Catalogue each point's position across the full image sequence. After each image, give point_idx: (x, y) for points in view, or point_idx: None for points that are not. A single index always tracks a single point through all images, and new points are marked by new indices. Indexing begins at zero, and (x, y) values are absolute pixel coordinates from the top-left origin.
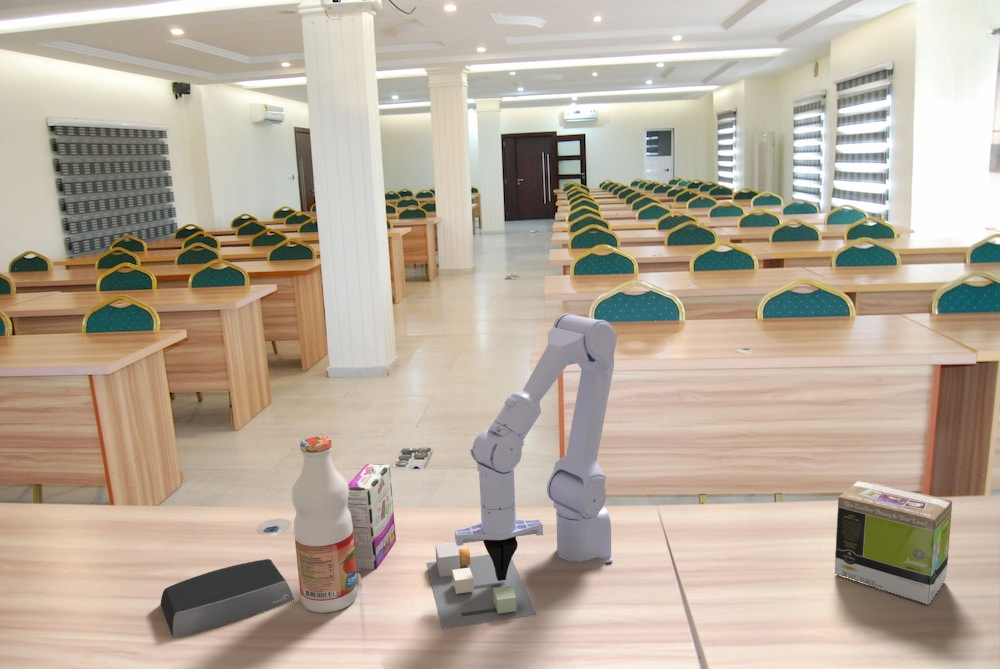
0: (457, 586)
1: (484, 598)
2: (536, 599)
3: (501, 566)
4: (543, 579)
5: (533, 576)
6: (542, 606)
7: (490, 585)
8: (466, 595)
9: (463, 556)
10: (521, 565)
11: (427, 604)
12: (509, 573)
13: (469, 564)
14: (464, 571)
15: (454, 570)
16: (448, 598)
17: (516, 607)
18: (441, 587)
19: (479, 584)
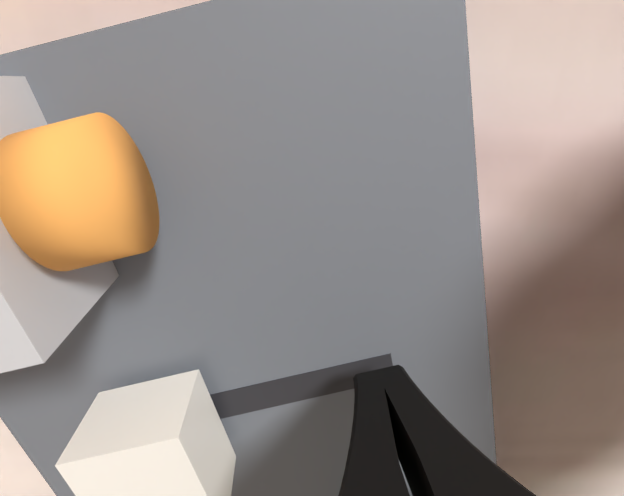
0: None
1: (292, 477)
2: (518, 415)
3: (411, 477)
4: (598, 260)
5: (554, 230)
6: (530, 455)
7: (317, 384)
8: None
9: (81, 263)
10: (512, 92)
11: (27, 460)
12: (429, 268)
13: (154, 208)
14: (151, 480)
15: (75, 469)
16: None
17: None
18: (46, 406)
19: (255, 375)
